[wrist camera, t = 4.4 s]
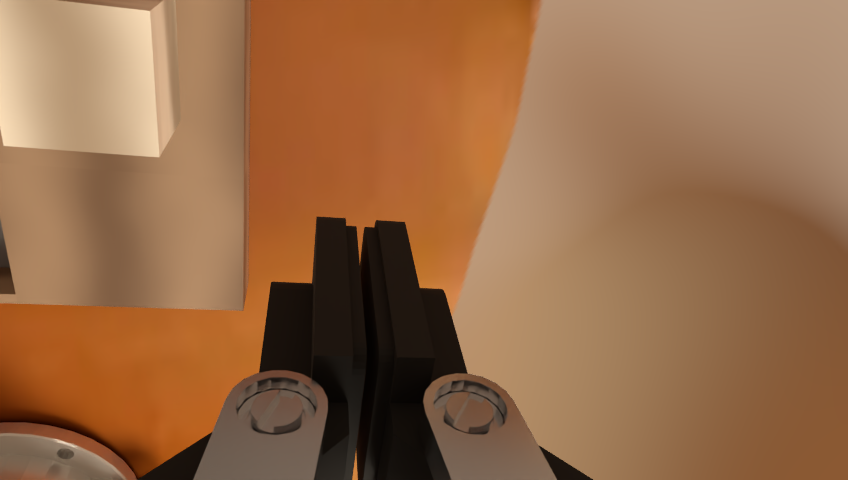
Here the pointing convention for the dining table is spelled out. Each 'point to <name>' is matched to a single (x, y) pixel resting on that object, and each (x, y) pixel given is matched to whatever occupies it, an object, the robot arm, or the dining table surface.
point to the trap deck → (144, 194)
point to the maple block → (89, 75)
